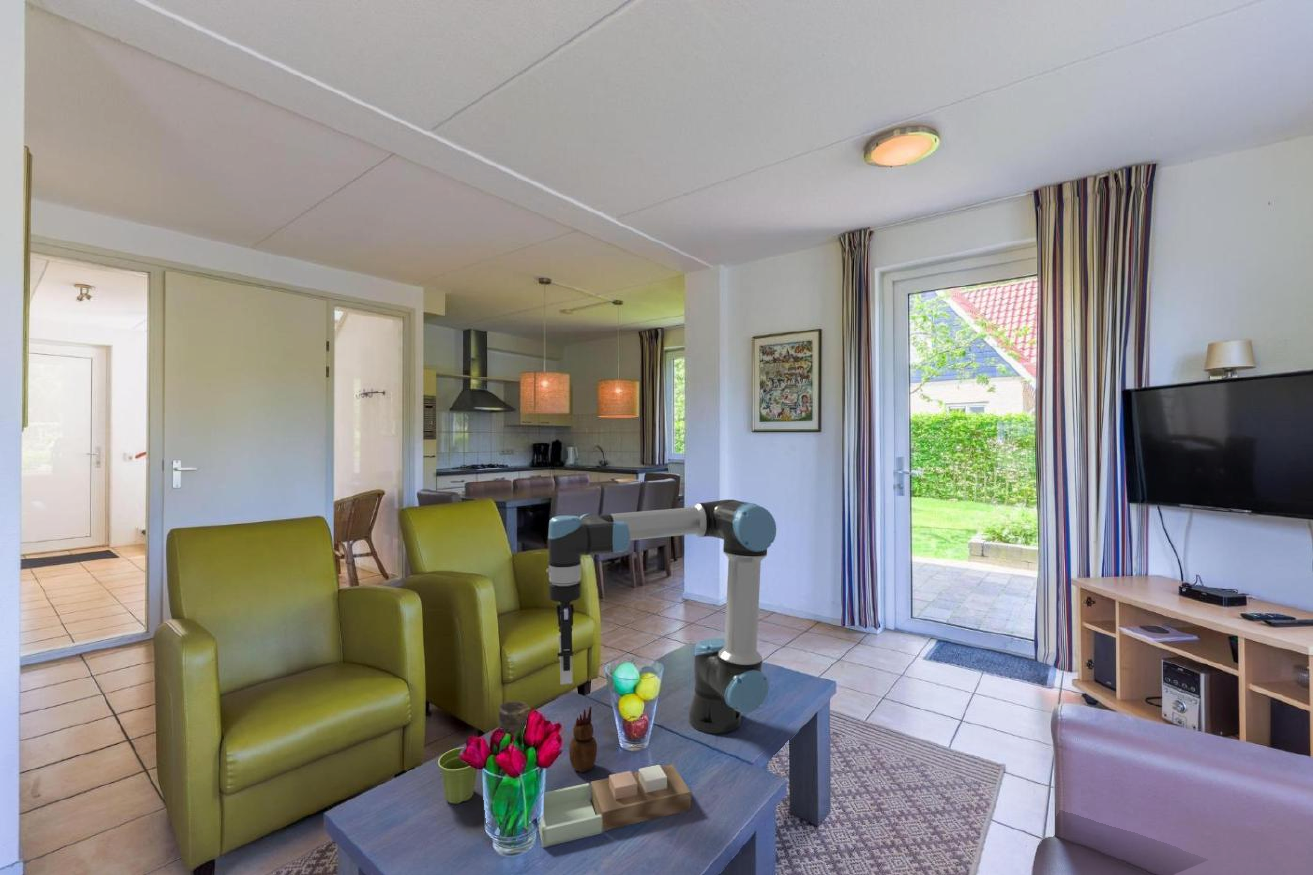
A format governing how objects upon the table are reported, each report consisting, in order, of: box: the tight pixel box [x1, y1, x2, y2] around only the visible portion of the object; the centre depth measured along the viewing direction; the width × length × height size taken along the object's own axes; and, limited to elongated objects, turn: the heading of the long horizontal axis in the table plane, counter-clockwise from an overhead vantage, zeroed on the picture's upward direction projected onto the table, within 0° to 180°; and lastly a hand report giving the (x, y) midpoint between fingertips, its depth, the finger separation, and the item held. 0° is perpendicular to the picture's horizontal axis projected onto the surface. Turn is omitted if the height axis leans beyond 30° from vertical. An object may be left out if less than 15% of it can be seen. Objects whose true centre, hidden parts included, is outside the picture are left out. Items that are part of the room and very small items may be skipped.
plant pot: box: [437, 746, 478, 804], centre depth 130 cm, size 9×9×9 cm
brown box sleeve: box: [590, 764, 692, 832], centre depth 127 cm, size 20×11×4 cm, turn 110°
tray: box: [538, 782, 603, 848], centre depth 121 cm, size 12×12×4 cm
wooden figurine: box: [568, 706, 598, 773], centre depth 141 cm, size 7×6×15 cm
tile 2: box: [638, 764, 667, 793], centre depth 128 cm, size 5×5×2 cm
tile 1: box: [608, 770, 637, 800], centre depth 125 cm, size 5×5×2 cm
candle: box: [498, 701, 531, 735], centre depth 131 cm, size 8×7×20 cm
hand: (565, 671), depth 134 cm, fingers open, 13 cm apart
